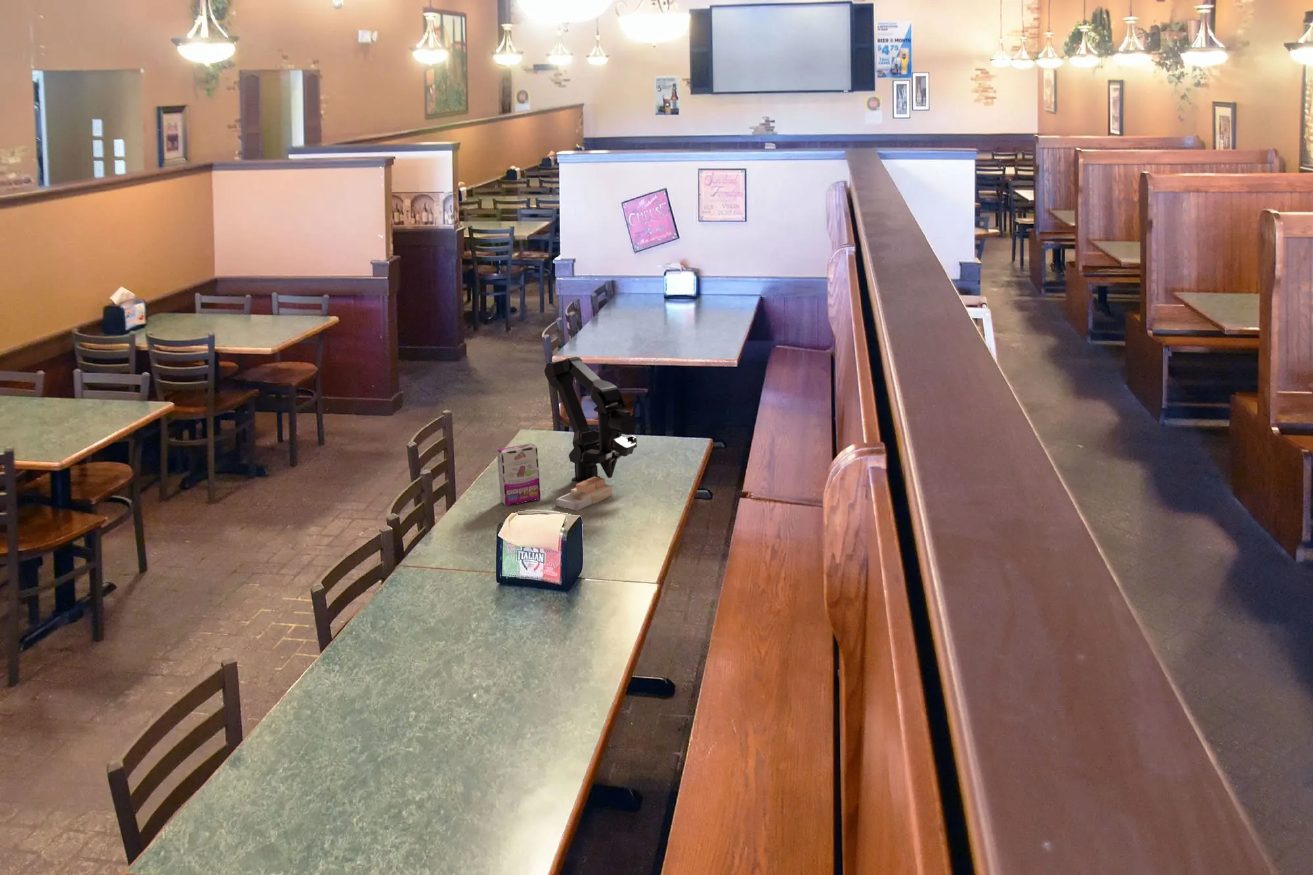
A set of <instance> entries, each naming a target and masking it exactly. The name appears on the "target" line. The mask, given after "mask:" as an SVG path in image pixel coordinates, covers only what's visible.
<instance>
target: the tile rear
mask: <svg viewBox="0 0 1313 875" xmlns="http://www.w3.org/2000/svg"><path fill="white" fill-rule="evenodd" d="M586 481H589V482H594V483H595V484H596V489H597V488H600V487H602V486H604V485H605V484H606V478H603V477H600V478H599V477H592V478H590V479H587V480H586Z"/></svg>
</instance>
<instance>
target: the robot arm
mask: <svg viewBox="0 0 1313 875" xmlns="http://www.w3.org/2000/svg"><path fill="white" fill-rule="evenodd" d="M545 365H546V366H545V368H544V375H545V377H546V380H547V381H548V383H549V385H550V386H551V387H553V389H554V390H556V391H558V394H559V395H558V396H560V400H561V402H562V406H563V408H564V410H565V413H566V415H567V418H568V420H569V424H570V426H571V429H572V431H573V437H572V447H573V448H572V450H571V451H570V452H569V453H568V458H569V462H571V463H574V477H572V478H571V480H572V481H575V482H578V483H580V482H583V481H586V480H587V479H590V478H592V477H599V478H601V476H600V475H599V474H598V473H599V472H598V471H599V470H598V465H597V464H599V465H600V466H601V468H602V470H603V472H604V473H605V476H606V478H608V479H611V478H612V477H613V475H614V472H615V468H616V465H617V462H618V460H619V459H620V458H621V457H627V456H629V455H632V454H633V452H634V450H635V449H636V448H637V447H638V445H637V444H638V443H637V442H638V441H637V436H635V435H631V434H633V433H634V431H635V429H636V427H637V421H636V418H635V417H634V416H632V415H631V411H630V410H627V409H628V406H627V404H626V401H625V400H624V398H623V396H622V393H621V391H620V389H619V388H618V387H617V385H615V384H613V383H612V382H609V381H607V380H603V379H602V378H600V377H599V376H598V375H597V374H596V373H595V372H594V371H593V370H592V369H590V367H588V365H586V364H585V363H584V362H583V360H582V358H581V357H580V356H571V357H567V358H565V359H562V360H556V361H552V362H548V363H546V364H545ZM575 379H576V380H577V381H578V382H579V383H580V384H581V385H582V386H583V387H585V389H587V391H588V392H589V393H590V399H591V401H593V402H594V404H595V405H596V406H595V407H594V408H593V411H594V412H596V413H597V420H598V421H597V424H598V425H597V427H598V430H597V429H593V428H591V427H590V426H589V423H588V421H587V418H586V415H585V412H584V410H583V408H582V405H581V402H580V400H579V397H578V395H577V392H576V389H575V386H574V381H575ZM622 434H624V435H630V436H628V437H627V436H625V437H624V436H623V435H622Z"/></svg>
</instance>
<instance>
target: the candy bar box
mask: <svg viewBox="0 0 1313 875" xmlns="http://www.w3.org/2000/svg"><path fill="white" fill-rule="evenodd" d="M538 454H539V453H538V446H536V445H535V444H533V443H527V444H520V445H515V446H508V447H503V448H498V449H496V458H497V459H496V460H497V472H498V483H499V496H500V502H501V504H503V505H504V506H506V507H509V506H514V505H518V504H517V503H520V504H523V503H522V502H525V501H530V502H533V501H532V500H535V499H536V500H535V501H538V500H537V499H540V500H541V498H542V497H541V484H540V472H539V471H540V469H539V456H538ZM525 503H526V502H525Z"/></svg>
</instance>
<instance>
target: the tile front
mask: <svg viewBox="0 0 1313 875" xmlns="http://www.w3.org/2000/svg"><path fill="white" fill-rule="evenodd" d="M575 488H576V490H577V491H580V492H585V493H588V492H591V491H593V490H595V489H596V484H595V483H594V482H589V481H583V482H578V483H575Z"/></svg>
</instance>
